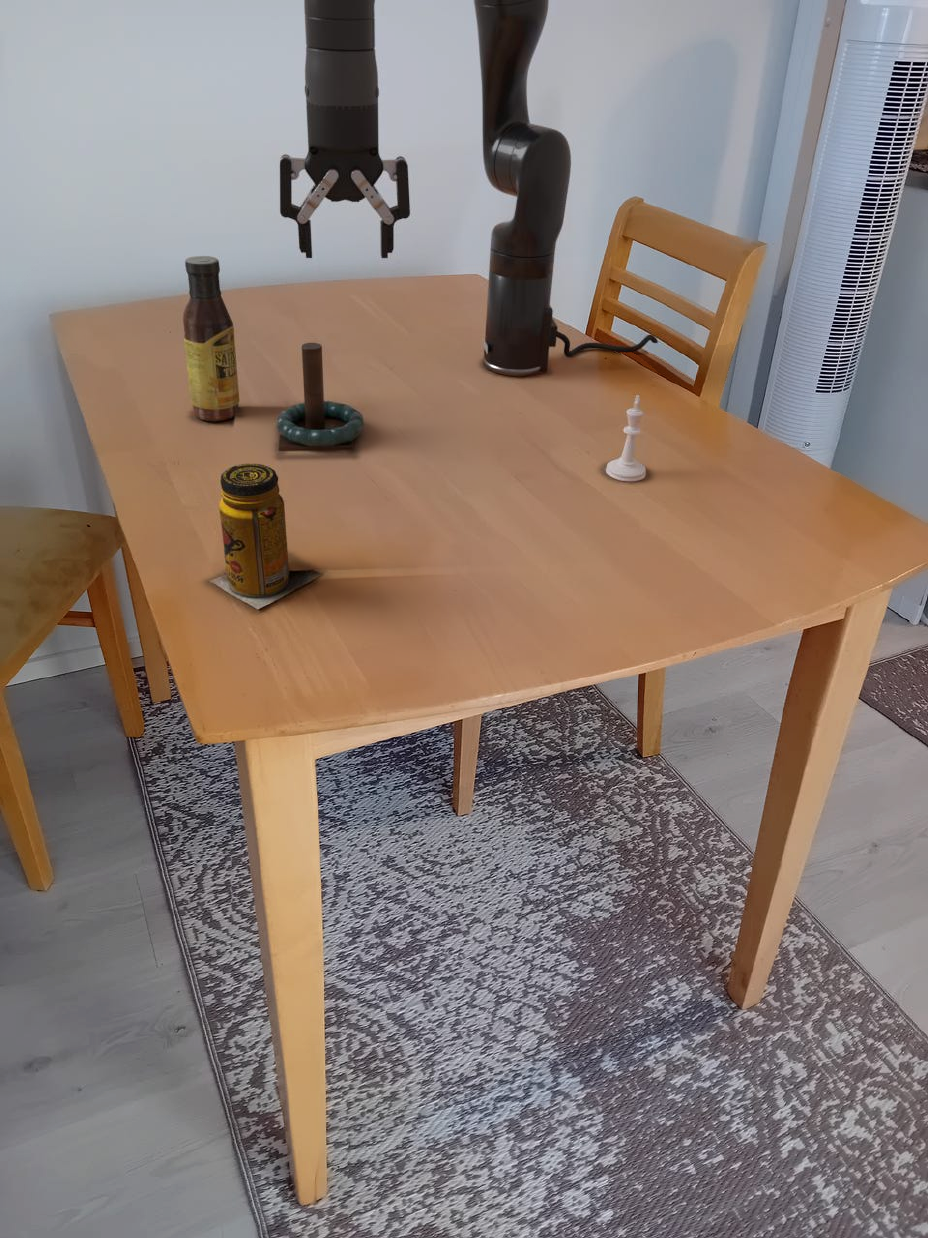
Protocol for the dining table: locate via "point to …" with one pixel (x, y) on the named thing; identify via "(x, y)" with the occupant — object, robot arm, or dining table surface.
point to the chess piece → (629, 450)
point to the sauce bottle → (209, 344)
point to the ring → (321, 436)
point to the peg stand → (314, 402)
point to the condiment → (256, 537)
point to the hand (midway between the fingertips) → (346, 256)
